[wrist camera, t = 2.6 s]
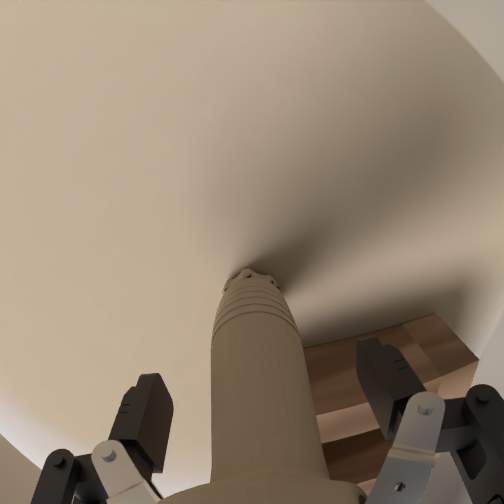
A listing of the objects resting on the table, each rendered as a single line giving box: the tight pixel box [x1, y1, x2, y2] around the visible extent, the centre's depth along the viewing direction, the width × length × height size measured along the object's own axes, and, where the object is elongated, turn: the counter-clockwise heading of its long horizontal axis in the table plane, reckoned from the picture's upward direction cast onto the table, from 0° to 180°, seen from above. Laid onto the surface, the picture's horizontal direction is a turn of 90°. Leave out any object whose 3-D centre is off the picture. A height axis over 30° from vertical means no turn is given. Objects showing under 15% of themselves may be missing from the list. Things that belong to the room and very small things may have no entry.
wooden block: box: [303, 314, 479, 493], centre depth 20 cm, size 14×14×6 cm
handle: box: [157, 268, 368, 504], centre depth 11 cm, size 5×6×15 cm
